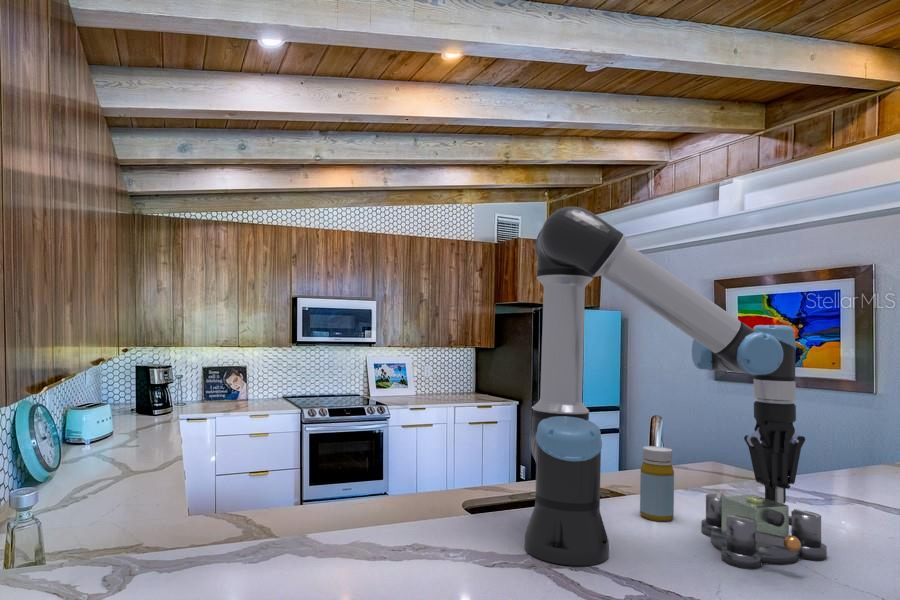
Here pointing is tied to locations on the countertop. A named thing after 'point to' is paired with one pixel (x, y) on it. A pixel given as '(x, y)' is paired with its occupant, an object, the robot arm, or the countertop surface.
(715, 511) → the foot screw
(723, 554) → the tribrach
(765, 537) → the foot screw
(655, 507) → the bottle
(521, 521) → the countertop surface
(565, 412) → the robot arm
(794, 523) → the foot screw
